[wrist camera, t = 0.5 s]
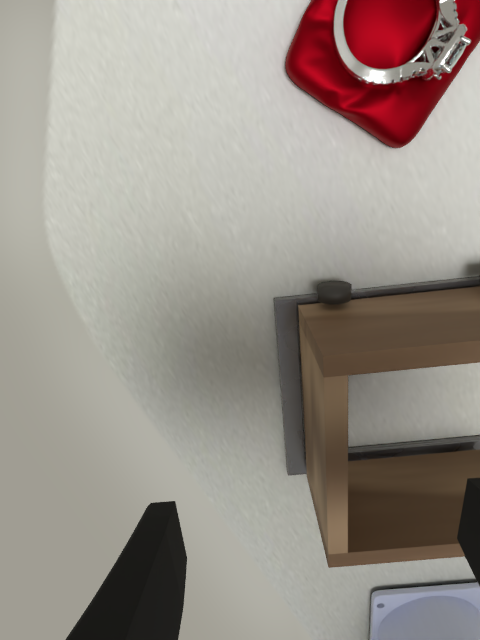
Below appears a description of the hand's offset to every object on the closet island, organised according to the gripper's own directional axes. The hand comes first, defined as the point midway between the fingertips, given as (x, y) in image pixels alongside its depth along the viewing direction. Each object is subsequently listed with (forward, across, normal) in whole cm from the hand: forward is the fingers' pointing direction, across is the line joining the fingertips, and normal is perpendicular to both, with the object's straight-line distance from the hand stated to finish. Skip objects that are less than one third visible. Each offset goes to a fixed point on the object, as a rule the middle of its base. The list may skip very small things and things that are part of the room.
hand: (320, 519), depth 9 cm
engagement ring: (+10, -5, -12) cm, 17 cm away
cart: (+10, -6, +2) cm, 12 cm away
